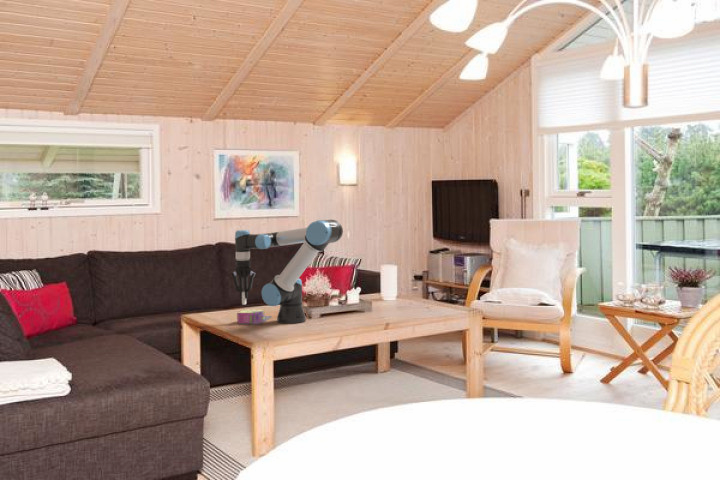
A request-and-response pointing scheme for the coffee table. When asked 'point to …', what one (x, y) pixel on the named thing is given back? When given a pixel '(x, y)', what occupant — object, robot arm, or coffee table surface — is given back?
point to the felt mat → (259, 323)
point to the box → (251, 316)
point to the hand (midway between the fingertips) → (244, 304)
